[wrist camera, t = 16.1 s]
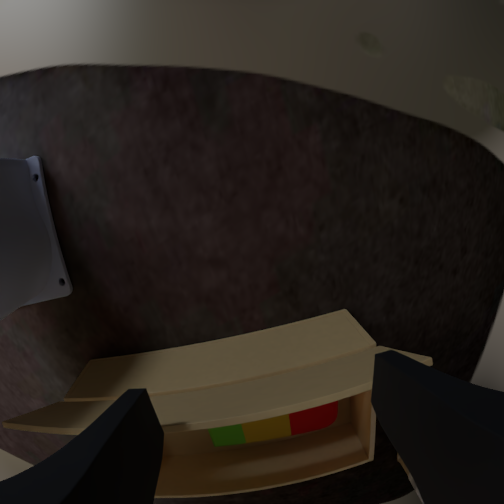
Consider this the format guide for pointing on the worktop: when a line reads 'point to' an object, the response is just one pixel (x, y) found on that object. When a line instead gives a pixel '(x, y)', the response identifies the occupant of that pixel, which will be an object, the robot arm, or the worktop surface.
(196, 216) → the worktop surface
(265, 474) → the carton
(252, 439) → the popsicle
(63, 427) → the flap
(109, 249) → the worktop surface
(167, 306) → the worktop surface
